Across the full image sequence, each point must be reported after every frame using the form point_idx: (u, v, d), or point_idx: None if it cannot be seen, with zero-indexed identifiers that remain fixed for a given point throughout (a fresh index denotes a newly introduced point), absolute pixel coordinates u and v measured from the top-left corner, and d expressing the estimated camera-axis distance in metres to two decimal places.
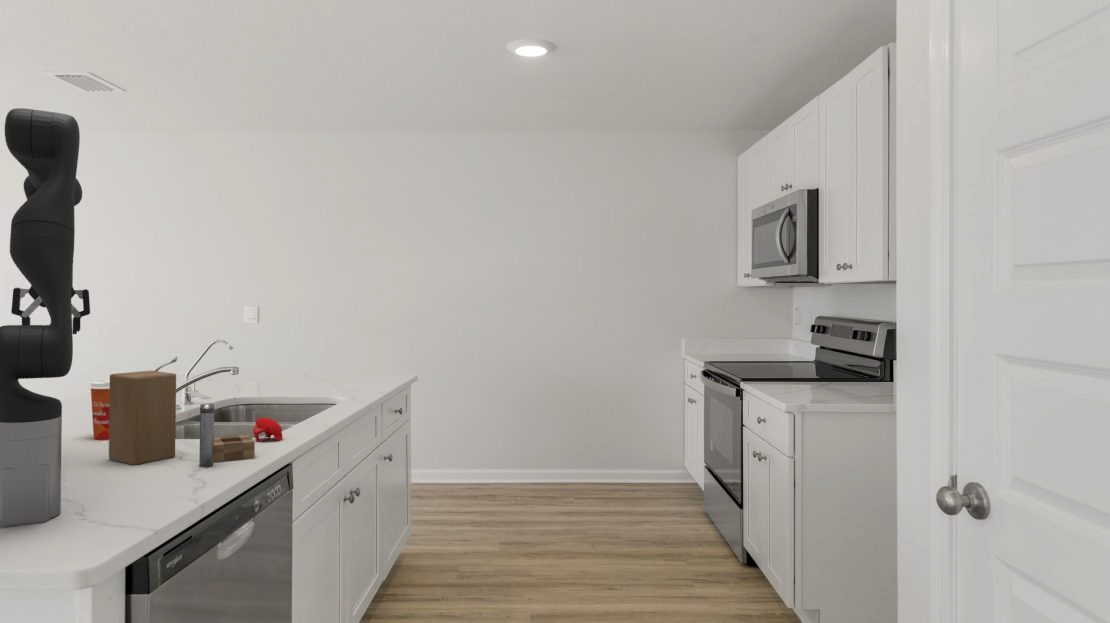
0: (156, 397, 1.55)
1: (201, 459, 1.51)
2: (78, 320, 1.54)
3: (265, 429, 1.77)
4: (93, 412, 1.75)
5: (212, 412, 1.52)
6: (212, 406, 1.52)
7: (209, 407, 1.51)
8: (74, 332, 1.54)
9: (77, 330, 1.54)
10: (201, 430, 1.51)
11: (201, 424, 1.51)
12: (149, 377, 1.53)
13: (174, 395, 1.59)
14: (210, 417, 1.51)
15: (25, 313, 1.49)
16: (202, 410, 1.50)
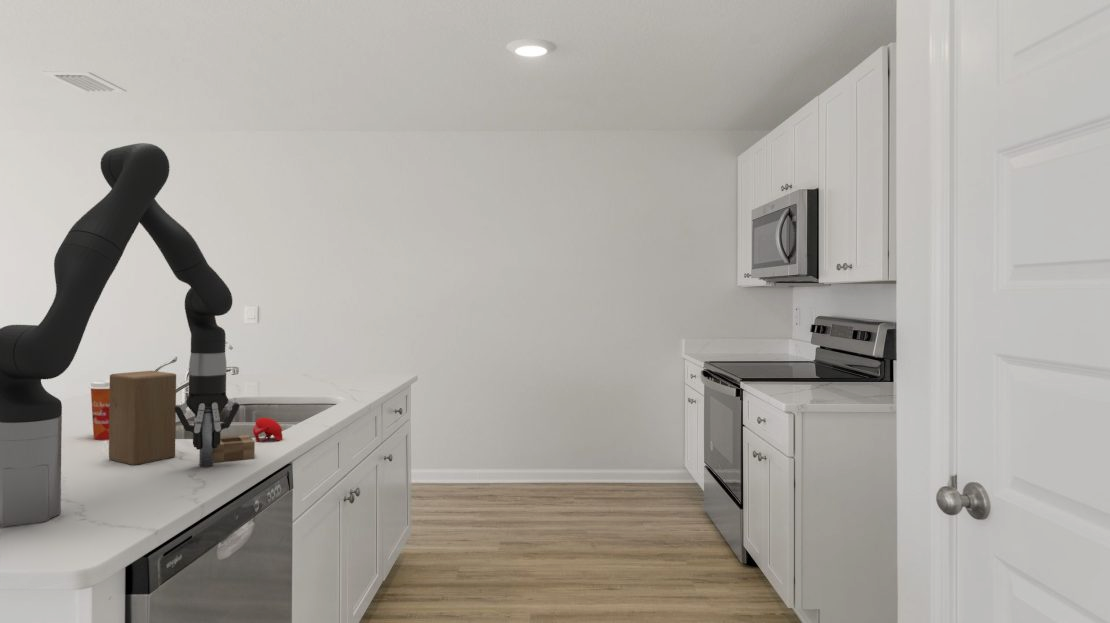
0: (156, 397, 1.55)
1: (201, 459, 1.51)
2: (218, 433, 1.53)
3: (265, 429, 1.77)
4: (93, 412, 1.75)
5: None
6: None
7: (209, 407, 1.51)
8: (215, 446, 1.52)
9: (217, 444, 1.53)
10: (201, 430, 1.51)
11: (201, 424, 1.51)
12: (149, 377, 1.53)
13: (174, 395, 1.59)
14: (210, 417, 1.51)
15: (196, 429, 1.50)
16: None
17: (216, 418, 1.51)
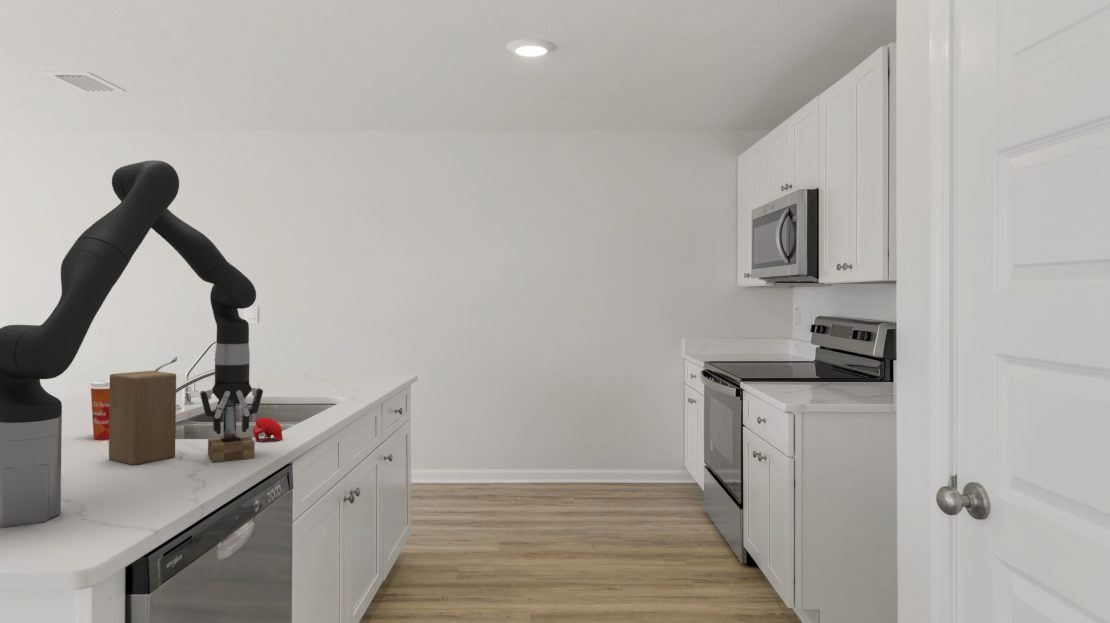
0: (156, 397, 1.55)
1: None
2: (247, 418, 1.62)
3: (265, 429, 1.77)
4: (93, 412, 1.75)
5: (234, 405, 1.60)
6: None
7: (231, 401, 1.60)
8: (244, 430, 1.62)
9: (246, 428, 1.62)
10: (224, 423, 1.60)
11: (224, 417, 1.60)
12: (149, 377, 1.53)
13: (174, 395, 1.59)
14: (232, 410, 1.60)
15: (217, 414, 1.58)
16: (225, 404, 1.59)
17: (243, 405, 1.61)
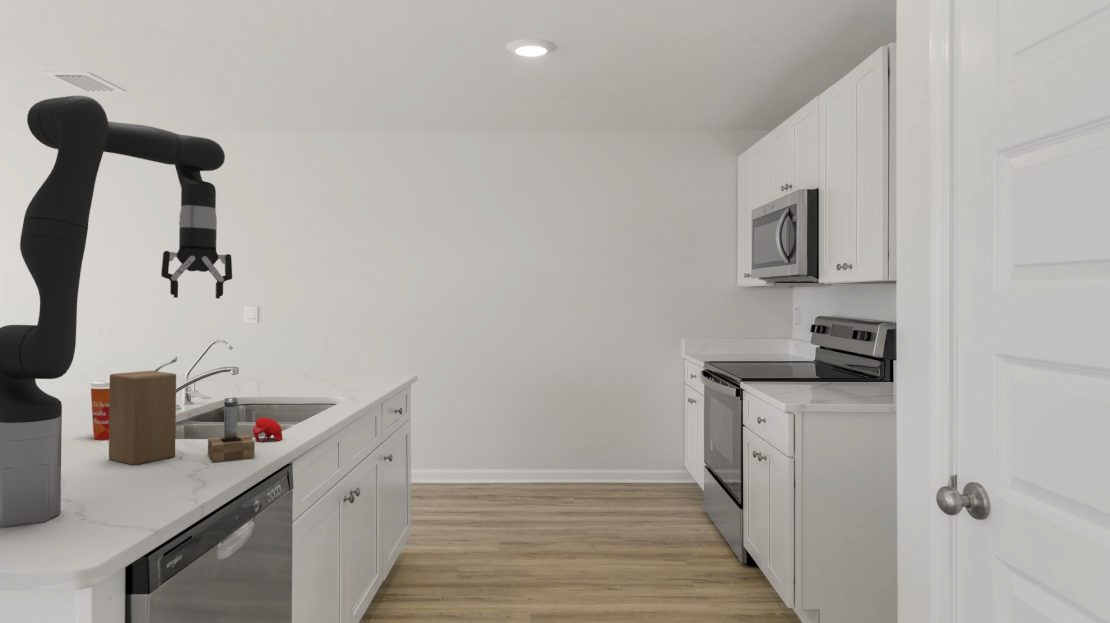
0: (156, 397, 1.55)
1: None
2: (221, 284, 1.56)
3: (265, 429, 1.77)
4: (93, 412, 1.75)
5: (236, 406, 1.61)
6: (236, 400, 1.61)
7: (233, 401, 1.60)
8: (218, 296, 1.55)
9: (220, 294, 1.56)
10: (225, 423, 1.60)
11: (225, 417, 1.60)
12: (149, 377, 1.53)
13: (174, 395, 1.59)
14: (234, 410, 1.60)
15: (174, 276, 1.50)
16: (226, 404, 1.60)
17: (213, 270, 1.54)
